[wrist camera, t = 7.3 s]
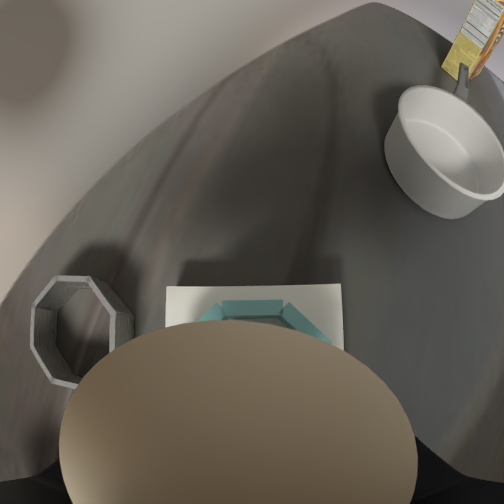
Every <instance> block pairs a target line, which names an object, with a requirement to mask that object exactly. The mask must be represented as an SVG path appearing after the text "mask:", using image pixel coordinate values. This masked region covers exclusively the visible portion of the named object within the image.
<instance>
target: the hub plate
mask: <svg viewBox="0 0 504 504" xmlns="http://www.w3.org/2000/svg"><path fill="white" fill-rule="evenodd" d="M208 320H241V321H249V322H257V323H266V324H271V325H275V326H279V327H284V328H288V329H292V330H297V331H299V332H302V333H305V334H307V335H310V336H313V337H316V338H318V339H321V340H324V341H326V342H327V343H329V344H331V345H333V346H335V347H337V348H339V349H341V350H343V351H344V342H343V316H342V297H341V284H317V285H282V286H205V287H192V286H167V293H166V327H170V326H174V325H178V324H182V323H190V322H199V321H208Z"/></svg>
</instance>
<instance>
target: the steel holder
mask: <svg viewBox="0 0 504 504" xmlns="http://www.w3.org/2000/svg"><path fill="white" fill-rule="evenodd" d="M77 289H92V290H93V291H94V293H95V294H96V295H97V297H98V298H99V300H100V301H101V302H102V304H103V305H104V307H105V308H106V309H107V311H108V312H109V313H110V338H109V353H110V352H112V351H113V350H114V349H116V348H117V347H119V346H121V345H123V344H125V343H127V342H128V341H130V340H132V339H134V318H135V317H134V315H133V314H132V313H131V312H130V311H129V309H128V308H127V307H126V306H125V304H124V303H123V302H122V300H121V299H120V298H119V297H118V295H117V294H116V293H115V291H114V290H113V289H112V287H111V286H110V284H108V283H105V282H103V281H101V280H99V279H96V278H94V277H92V276H90V275H89V276H60V275H55V276H54V278H53V279H52V280H51V281H50V282H49V284H48V285H47V286H46V287H45V289H44V290H43V291H42V292H41V294H40V295H39V296H38V297H37V299H36V300H35V301H34V303H33V304H32V305H31V306H32V310H31V329H30V349H31V350H32V352H33V353H34V355H35V357H36V359H37V360H38V362H39V364H40V365H41V367H42V369H43V370H44V372H45V374H46V375H47V377H48V378H49V380H50V381H51V383H52V384H57V385H61V386H65V387H68V388H73V389H76V387H77V386H78V384H79V383H80V381H81V380H82V378H83V377H79V376H75V375H74V373H73V372H72V370H71V369H70V367H69V366H68V364H67V363H66V361H65V360H64V358H63V357H62V355H61V354H60V352H59V351H58V349H57V347H56V339H57V314H58V311H59V310H60V309H61V308H62V306H63V305H64V304H65V303H66V302H67V301H68V299H69V298H70V297H71V296H72V295H73V294H74V293H75V291H76V290H77Z"/></svg>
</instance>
